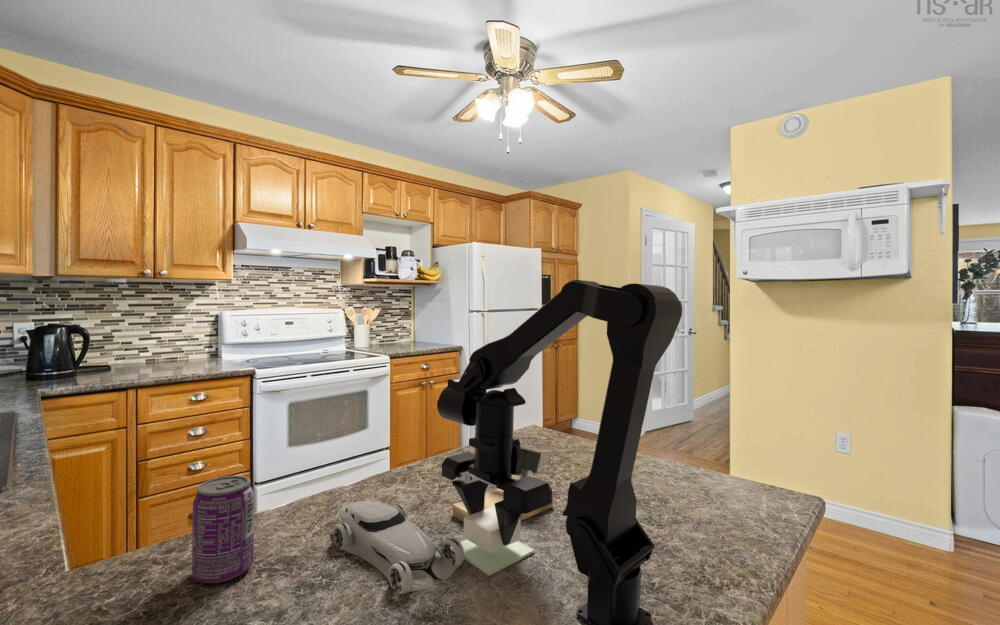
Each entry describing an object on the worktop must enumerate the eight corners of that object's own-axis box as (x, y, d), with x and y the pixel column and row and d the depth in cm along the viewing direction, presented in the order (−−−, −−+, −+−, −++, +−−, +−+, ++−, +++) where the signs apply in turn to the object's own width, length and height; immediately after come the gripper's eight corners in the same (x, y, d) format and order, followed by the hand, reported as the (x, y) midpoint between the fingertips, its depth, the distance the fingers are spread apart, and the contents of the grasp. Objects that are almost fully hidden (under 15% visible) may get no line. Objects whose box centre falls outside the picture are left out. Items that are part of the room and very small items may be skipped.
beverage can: (240, 552, 67) (241, 470, 67) (262, 571, 63) (263, 483, 62) (183, 573, 62) (184, 484, 61) (203, 595, 57) (204, 499, 57)
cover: (490, 553, 64) (490, 532, 64) (463, 537, 69) (463, 517, 69) (520, 539, 69) (520, 519, 69) (493, 524, 73) (493, 506, 73)
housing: (486, 535, 73) (486, 522, 73) (452, 515, 80) (452, 503, 80) (552, 507, 84) (552, 495, 84) (517, 491, 91) (517, 481, 91)
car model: (403, 604, 57) (403, 564, 57) (317, 533, 74) (318, 502, 74) (470, 569, 65) (471, 533, 65) (379, 512, 82) (379, 484, 82)
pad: (489, 575, 62) (489, 572, 62) (449, 549, 69) (449, 546, 69) (534, 552, 69) (534, 550, 69) (493, 530, 75) (493, 527, 75)
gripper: (578, 436, 67) (575, 542, 67) (492, 412, 81) (490, 501, 81) (524, 451, 60) (522, 571, 60) (440, 422, 73) (438, 520, 73)
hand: (492, 536), depth 69 cm, fingers closed on cover, 6 cm apart
